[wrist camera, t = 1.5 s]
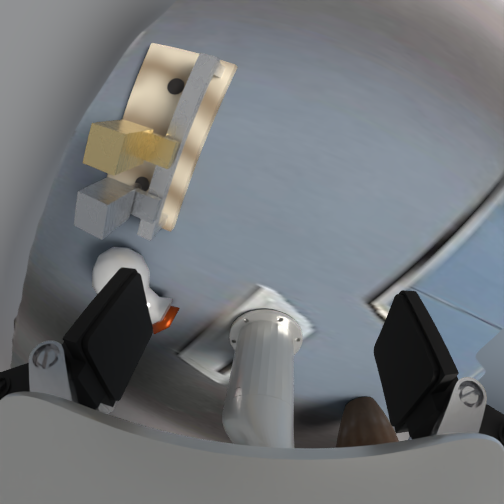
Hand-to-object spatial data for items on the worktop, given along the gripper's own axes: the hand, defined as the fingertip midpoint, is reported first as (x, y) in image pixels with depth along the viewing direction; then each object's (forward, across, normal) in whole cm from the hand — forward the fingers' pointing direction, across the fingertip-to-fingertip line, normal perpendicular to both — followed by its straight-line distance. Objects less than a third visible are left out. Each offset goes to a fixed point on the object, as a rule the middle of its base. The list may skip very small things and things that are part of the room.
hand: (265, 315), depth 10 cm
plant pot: (+27, -25, +51) cm, 63 cm away
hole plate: (+28, +16, -4) cm, 32 cm away
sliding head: (+25, +14, -3) cm, 29 cm away
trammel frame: (+26, +14, -3) cm, 30 cm away
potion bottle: (+28, +20, +18) cm, 39 cm away
